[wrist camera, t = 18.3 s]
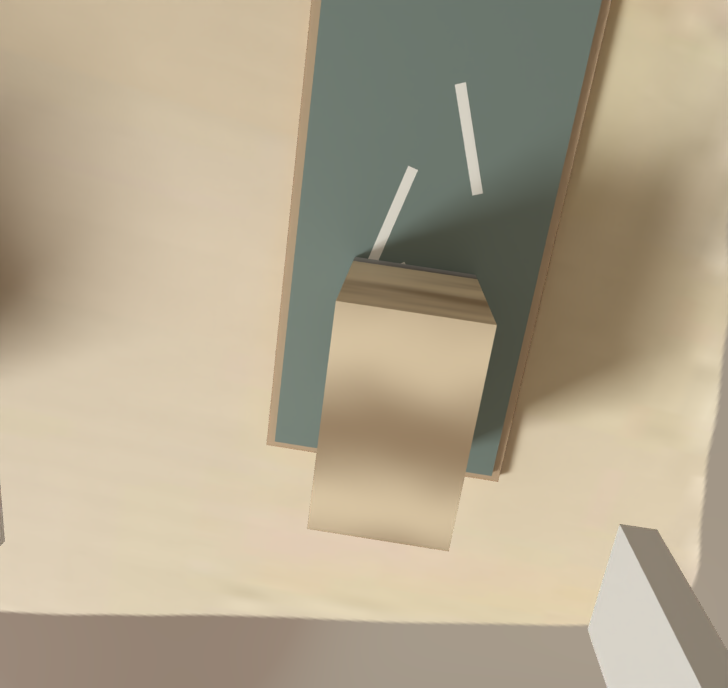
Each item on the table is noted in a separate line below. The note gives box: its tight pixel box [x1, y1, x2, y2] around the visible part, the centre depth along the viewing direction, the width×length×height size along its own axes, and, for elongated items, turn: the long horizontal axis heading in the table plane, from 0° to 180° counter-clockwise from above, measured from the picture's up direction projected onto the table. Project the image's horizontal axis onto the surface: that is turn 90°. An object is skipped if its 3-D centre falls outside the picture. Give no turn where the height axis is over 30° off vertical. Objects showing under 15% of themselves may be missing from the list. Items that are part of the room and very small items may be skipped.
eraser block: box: [307, 257, 497, 551], centre depth 30 cm, size 10×6×8 cm, turn 172°
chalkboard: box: [267, 0, 612, 482], centre depth 32 cm, size 27×13×1 cm, turn 172°
